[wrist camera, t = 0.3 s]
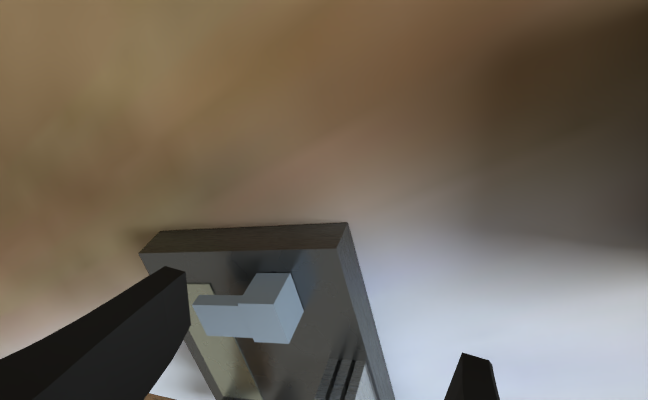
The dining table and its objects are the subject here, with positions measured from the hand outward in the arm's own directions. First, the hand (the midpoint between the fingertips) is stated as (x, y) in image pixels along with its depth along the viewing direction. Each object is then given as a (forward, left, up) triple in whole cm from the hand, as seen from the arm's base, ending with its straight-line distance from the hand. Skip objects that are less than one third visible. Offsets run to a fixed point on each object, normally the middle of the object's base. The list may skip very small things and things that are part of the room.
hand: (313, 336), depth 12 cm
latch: (-6, +7, -8) cm, 12 cm away
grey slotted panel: (-10, +8, -10) cm, 16 cm away
